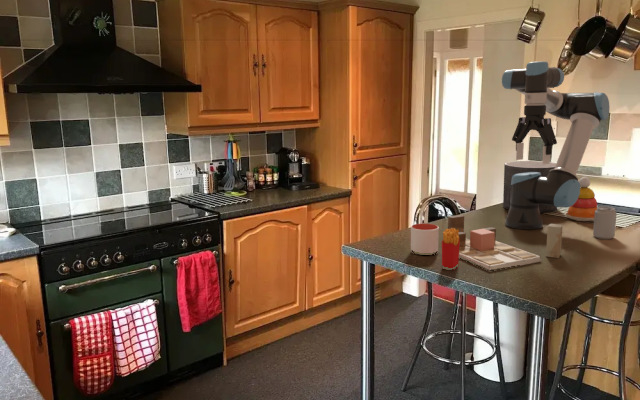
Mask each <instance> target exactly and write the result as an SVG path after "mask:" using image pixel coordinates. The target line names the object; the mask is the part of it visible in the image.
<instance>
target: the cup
mask: <svg viewBox="0 0 640 400" xmlns="http://www.w3.org/2000/svg"><path fill="white" fill-rule="evenodd" d="M439 231H440V227H439V225H436V224H433V223H415V224H412V225H411V226H410V251H411V250H413V251H415V252H419V253H433V252H436V251H438V252H439V245H440V244H439V241H440V240H439V236H440V233H439Z"/></svg>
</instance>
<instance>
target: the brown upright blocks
mask: <svg viewBox="0 0 640 400" xmlns="http://www.w3.org/2000/svg"><path fill="white" fill-rule="evenodd" d="M450 228H452V229H453V228H455V229H456V230H457V229H458V230H459V232H464V233H465V216H464V215H462V214H457V215H451V216H448V217H447V229H450ZM450 230H451V229H450ZM466 246H467V247H470V238H467V237H466ZM470 248H472V247H470ZM472 249H475V248H472ZM475 250H477V251H480V250H478V249H475ZM480 252H482V253H485V254H487V255H490V254H496V253H499V250H497V249H488V250H482V251H480Z"/></svg>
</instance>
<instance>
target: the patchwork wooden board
mask: <svg viewBox="0 0 640 400" xmlns="http://www.w3.org/2000/svg"><path fill="white" fill-rule="evenodd" d="M482 229H486V230H489V231H492V232H495V239H494V249H497V250H500V251H503V252H508V251H514V248H513V247H514V246H512V247H510V246H511V245H509V246H507V245H508V244H506V245H504V244H505V243H504V244H502V243H503V242H501V243H499V242H500V241H498V242H496V241H497V239H496V236H497V235H496V234H497V228H496V227H483V228H482ZM466 236H467V233H466V232H465V231H464V232H459V239H460V245H459V253H461V254H464V255H469V254H475V253H476V250H473V249H471V248H468V247H466V238H467V237H466ZM524 251H525V250H524ZM524 251H518V252H512V253H509V254H511V255H513V256H516V257H519V258H521V259H527V258H533V257H535V255H536V254H535V255H533V254H534V253H532V254H530V253H531V252H529V253H527V252H528V251H526V252H524ZM472 258H473V259H475V260H478V261H480V262H483V263H485V264H487V265H496V264H501V263H503V261H501V260H499V259H496V258H494V257H491V256H489V255H486V254H485V255H479V256H474V257H472Z"/></svg>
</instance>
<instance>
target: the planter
mask: <svg viewBox="0 0 640 400" xmlns="http://www.w3.org/2000/svg"><path fill="white" fill-rule="evenodd" d="M542 162H543V160H538V161H537V160H516V161H515V160H514V161H509V162H508V161H507V162H505V163H504V170H503V171H504V172H503V192H502V193H503V198H502V199H503V201H502V206H503V208H504V209H506V210H508V211H509V209H510V200H511V181H512V176H513V175H515V174H519V173H528V172H540V173H541V177H547V176H548V173H549V171H550V170H552V169H554V168H555V166H556V163H557V162H552V161H550V163H549V164H542ZM557 210H558V207H556V206H549V205H542V204H539V211H540V214H545V213H546V214H547V213H551V212H555V211H557Z"/></svg>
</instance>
